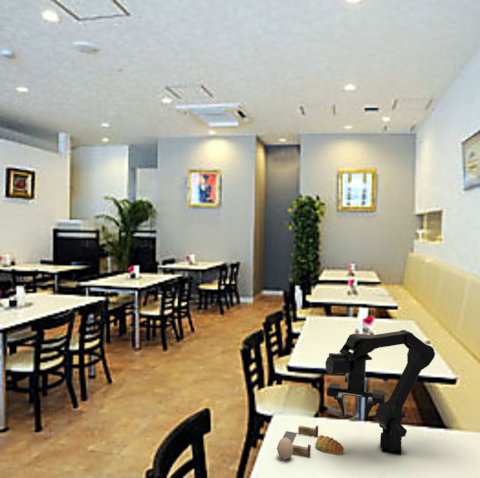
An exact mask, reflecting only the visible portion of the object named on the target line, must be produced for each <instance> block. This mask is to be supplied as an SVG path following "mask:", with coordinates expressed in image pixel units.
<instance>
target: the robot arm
mask: <svg viewBox="0 0 480 478" xmlns="http://www.w3.org/2000/svg"><path fill="white" fill-rule="evenodd" d="M398 345H404V346H405V347H406V348H407V349H408V351H407V354H406V358H407V360H406V366H405V367H404V368H403V371H402V373H401V374H400V377H399V379H398V381H397V383H396V385H395V387H394V389H393V390H392V393H391V395H390V397H389V399H388V400H386V392H385V390H383V389H374V388H373V389H372V392H371V391H366V387H367V383H366V382H367V381H366V367H367V364H366V363H367V361H372V360H373V358H372V357H371V356H370V355H369V353H372V352H373V351H374V350H376V349H379V348H380V349H381V348H386V347H394V346H398ZM351 351H352V352H351ZM435 357H436V352H435V349H434V347H432V346H431V345H428V344H427V343H425V342H423V341H422V340H421V339H420V338H419V337H417V336H416V335H414V333H413V332H410V331H409V330H406V329H401V330H398V331H391V332H390V331H389V332H385V333H379V334H364V333H352V334H351V333H350V334H349V335H348V337H347V338H346V341H345V343H344V345H342V347H341V348H340V349H339V353H331V352H329V353H328V356H327V358H326V360H325V362H324V363H325V370H326V372H327V374H328V375H331V376H332V375H345V376H344V383H347V384H346V385H347V388H343V387H341V384H338V383H331V382H330V383H329V384H328V386H327V387H326V396H327V397H329V398H331V397H332V398H333V399H334V400H335V401H337V403H338V405H339V407H340V410H341V412H342V416H343V418H345V417H346V404H345V403H346V402H345V398H346V397H345V396H353V397H361V398H367V403H366V410H365V413H364V414H365V415H364V421H367V419H368V418H369V417H368V416H369V414H370V412H371V411H372V408H373V407H374V406H375V407H376V406H377V405H378V407H377V408H376V410H375V415H374V417H375V420H376V422H377V423H378V426H379V428H380V429H382V432H381V433H380V442H379V443H380V444H379V446H380V448H381V452H382V453H383V452H384V453H388V452H391V453H390V454H394V453H397V454H396V455H399V454H401V453H402V441H403V439H402V438H403V437H406V434H407V433H408V431H407V429H406V427H404V426H403V424H401V423H402V420H403V408H404V405H406V402H407V400H408V398H409V395H410V393H411V392H412V389H413V387H414V386H415V383H416V381H417V380H418V377H419V376H420V373H421V372H422V371H423V370H424V369H425V368H427V367H428V366H430V364H431V363H432V362H433V360H434V358H435ZM401 455H402V454H401Z"/></svg>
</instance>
